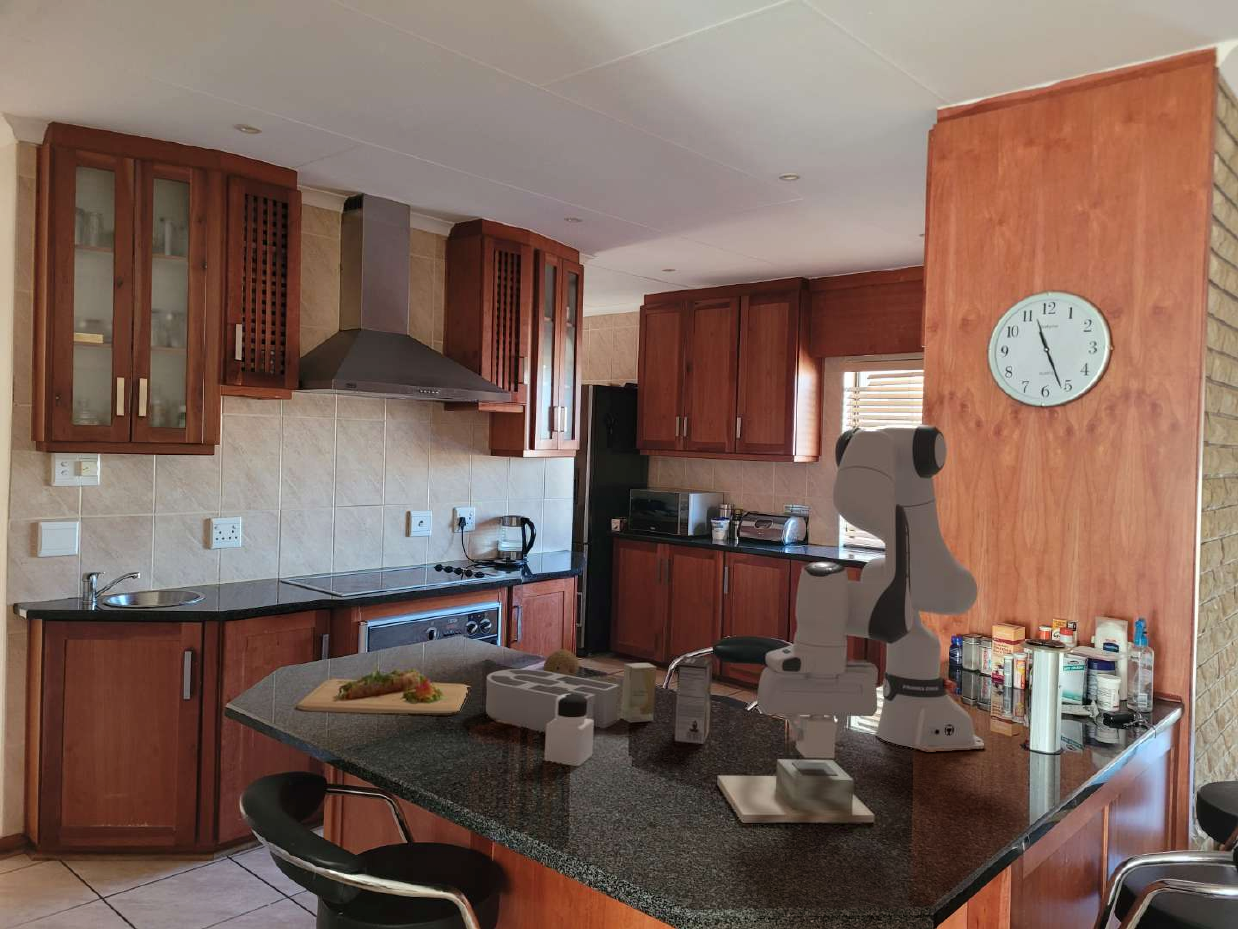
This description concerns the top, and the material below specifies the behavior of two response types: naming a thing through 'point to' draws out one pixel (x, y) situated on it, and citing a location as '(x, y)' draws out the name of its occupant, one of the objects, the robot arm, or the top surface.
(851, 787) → the display stand
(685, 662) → the food carton
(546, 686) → the grey compartment organizer
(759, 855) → the top surface
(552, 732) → the medicine bottle
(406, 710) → the cutting board
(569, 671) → the natural sponge
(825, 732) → the building block
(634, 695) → the skincare box
